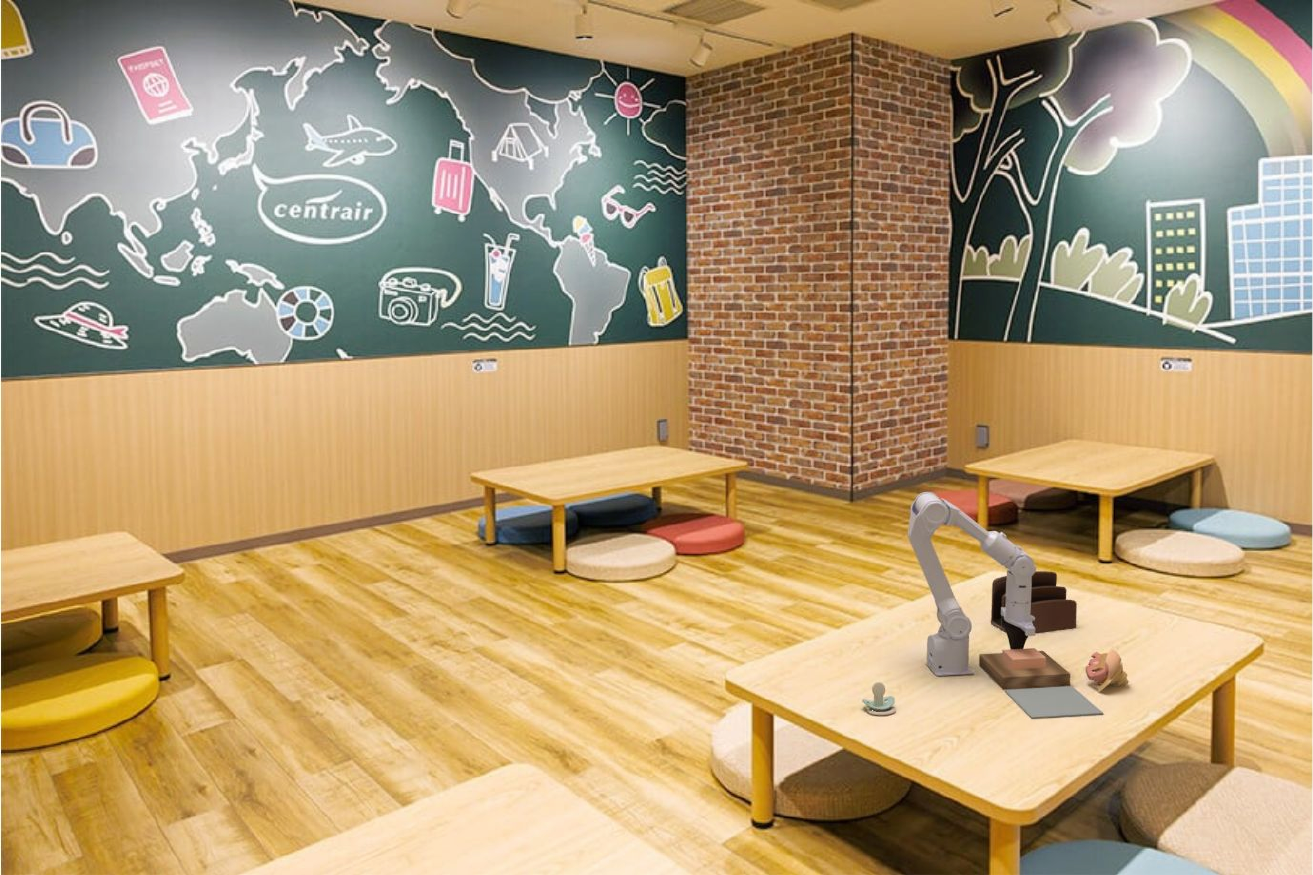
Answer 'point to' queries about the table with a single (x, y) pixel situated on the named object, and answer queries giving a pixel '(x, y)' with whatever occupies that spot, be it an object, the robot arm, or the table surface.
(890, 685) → the table surface
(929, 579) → the robot arm
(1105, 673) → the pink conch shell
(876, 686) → the pacifier
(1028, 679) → the step
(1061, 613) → the letter holder
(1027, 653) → the tile
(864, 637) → the table surface
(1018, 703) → the mat
